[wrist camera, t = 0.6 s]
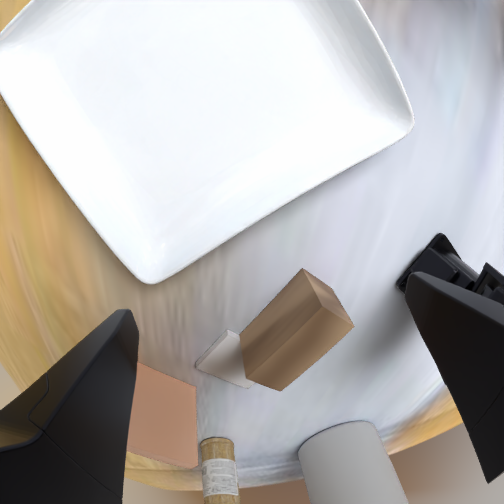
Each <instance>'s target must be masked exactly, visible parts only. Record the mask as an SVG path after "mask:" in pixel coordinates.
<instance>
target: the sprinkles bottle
mask: <svg viewBox="0 0 504 504" xmlns="http://www.w3.org/2000/svg"><path fill="white" fill-rule="evenodd" d="M200 448H201V453H202V482H203V495H204V501H205V504H241V503H240V493H239V486H238V475H237V467H236V463H235V456H234V444H233V442H232V441H231V440H228V439H225V438H210V439H206V440H204V441H203V442H202V443H201V444H200Z"/></svg>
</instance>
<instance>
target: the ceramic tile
mask: <svg viewBox="0 0 504 504" xmlns="http://www.w3.org/2000/svg"><path fill="white" fill-rule="evenodd" d="M126 451H129V452H131V453H134V454H138V455H141V456H144V457H147V458H150V459H154V460H157V461H161V462H164V463H168V464H172V465H176V466H180V467H184V468H188V469H193V468H194V467H196V466H198V445H197V413H196V387H195V386H192V385H190V384H187V383H185V382H182V381H180V380H177V379H175V378H173V377H170V376H168V375H166V374H163V373H161V372H159V371H157V370H154V369H152V368H150V367H148V366H146V365H143V364H141V363H139V362H137V376H136V384H135V390H134V397H133V403H132V410H131V417H130V425H129V433H128V441H127V450H126Z"/></svg>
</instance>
